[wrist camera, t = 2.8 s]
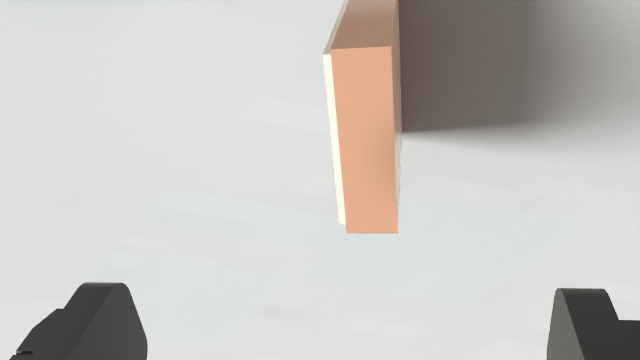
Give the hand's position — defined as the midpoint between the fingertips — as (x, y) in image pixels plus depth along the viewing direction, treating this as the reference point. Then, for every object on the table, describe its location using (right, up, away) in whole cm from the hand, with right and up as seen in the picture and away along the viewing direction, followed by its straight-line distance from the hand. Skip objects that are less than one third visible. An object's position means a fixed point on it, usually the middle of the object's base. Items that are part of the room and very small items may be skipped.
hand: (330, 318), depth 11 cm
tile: (+2, +7, +12) cm, 14 cm away
